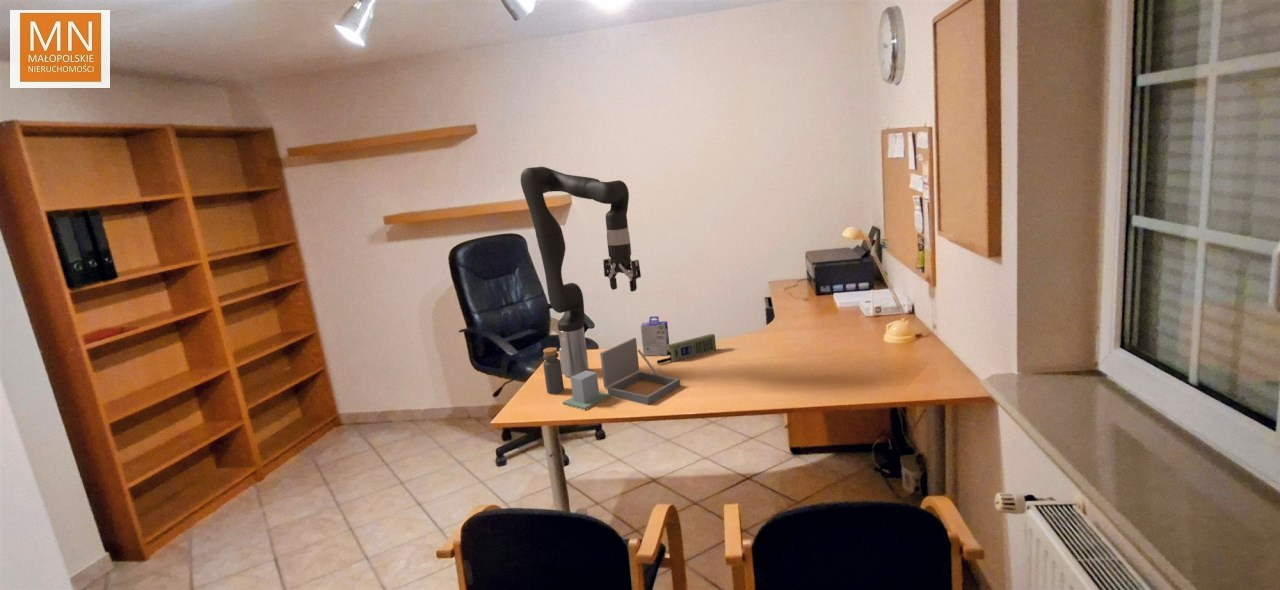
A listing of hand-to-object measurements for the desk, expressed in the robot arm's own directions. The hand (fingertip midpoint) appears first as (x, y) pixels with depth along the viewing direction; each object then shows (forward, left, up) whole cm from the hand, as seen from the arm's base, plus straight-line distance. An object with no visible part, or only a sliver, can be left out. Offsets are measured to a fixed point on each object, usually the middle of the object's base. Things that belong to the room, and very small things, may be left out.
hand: (623, 290), depth 211 cm
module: (-2, -21, -31) cm, 38 cm away
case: (+10, -6, -32) cm, 34 cm away
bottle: (-18, -20, -32) cm, 42 cm away
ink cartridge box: (-10, +26, -32) cm, 43 cm away
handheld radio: (+3, +27, -33) cm, 43 cm away
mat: (-2, -21, -32) cm, 38 cm away
